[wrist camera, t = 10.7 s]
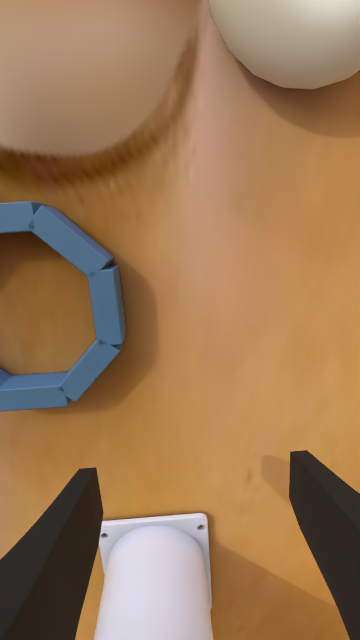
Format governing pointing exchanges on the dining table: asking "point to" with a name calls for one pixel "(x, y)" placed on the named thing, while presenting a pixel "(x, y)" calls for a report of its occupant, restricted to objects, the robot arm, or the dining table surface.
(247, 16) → the donut
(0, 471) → the dining table surface
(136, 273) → the dining table surface
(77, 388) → the ring
